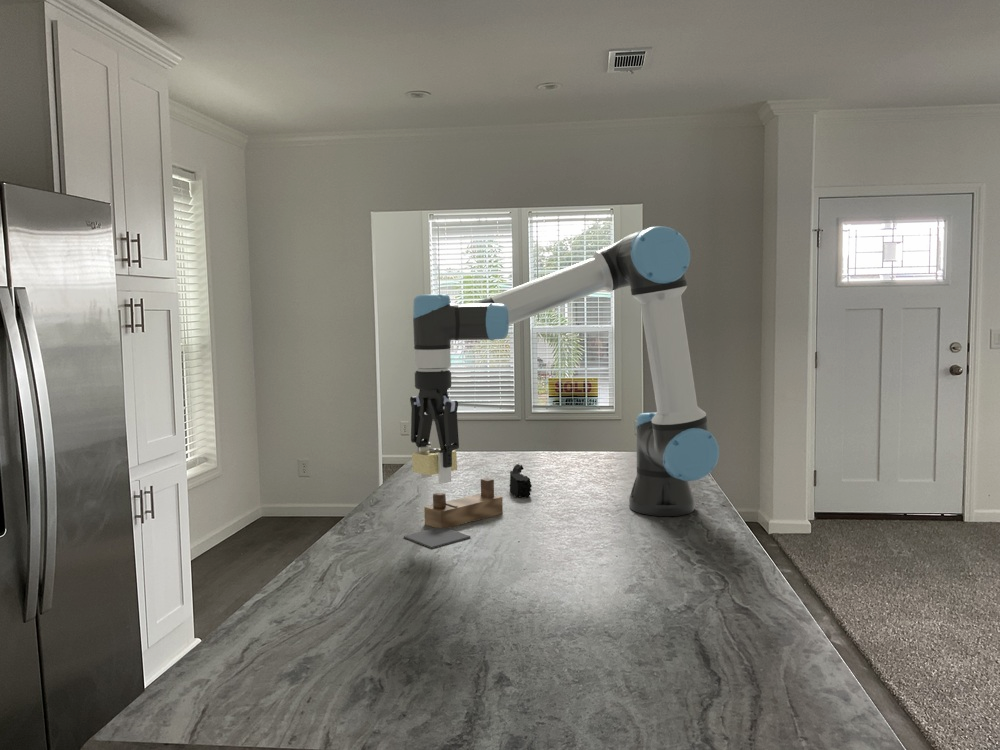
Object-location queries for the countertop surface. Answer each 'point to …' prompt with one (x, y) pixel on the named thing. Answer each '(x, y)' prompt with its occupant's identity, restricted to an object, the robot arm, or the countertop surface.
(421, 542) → the mat
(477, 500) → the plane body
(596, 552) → the countertop surface
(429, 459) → the yellow block with knob
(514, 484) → the toy
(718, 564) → the countertop surface
